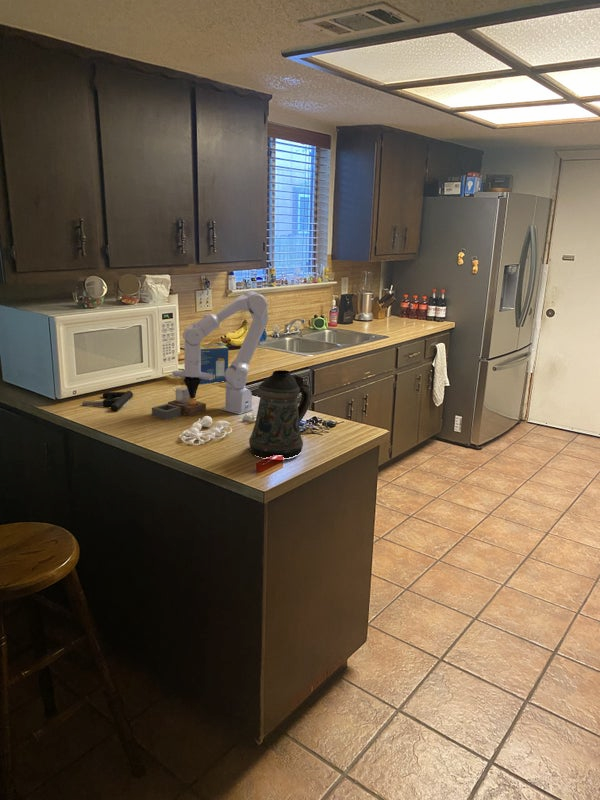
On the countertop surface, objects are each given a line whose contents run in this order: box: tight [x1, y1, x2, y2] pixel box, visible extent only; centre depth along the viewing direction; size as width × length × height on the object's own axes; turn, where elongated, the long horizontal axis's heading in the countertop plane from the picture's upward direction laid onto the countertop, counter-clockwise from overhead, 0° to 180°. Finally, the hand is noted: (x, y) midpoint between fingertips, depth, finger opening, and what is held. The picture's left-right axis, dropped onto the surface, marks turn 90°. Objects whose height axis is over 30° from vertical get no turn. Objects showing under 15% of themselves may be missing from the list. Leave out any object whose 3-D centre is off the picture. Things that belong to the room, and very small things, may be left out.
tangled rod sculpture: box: [178, 415, 233, 446], centre depth 195 cm, size 19×14×4 cm
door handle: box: [82, 390, 135, 413], centre depth 225 cm, size 3×20×16 cm
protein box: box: [199, 342, 229, 385], centre depth 262 cm, size 10×15×16 cm
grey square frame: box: [151, 403, 182, 421], centre depth 214 cm, size 7×7×3 cm
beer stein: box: [248, 369, 312, 458], centre depth 183 cm, size 16×19×25 cm
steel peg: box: [175, 386, 190, 404], centre depth 221 cm, size 4×4×8 cm
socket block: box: [167, 399, 207, 417], centre depth 220 cm, size 11×8×3 cm
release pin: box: [189, 396, 198, 406], centre depth 218 cm, size 3×3×3 cm
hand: (192, 397), depth 217 cm, fingers closed
